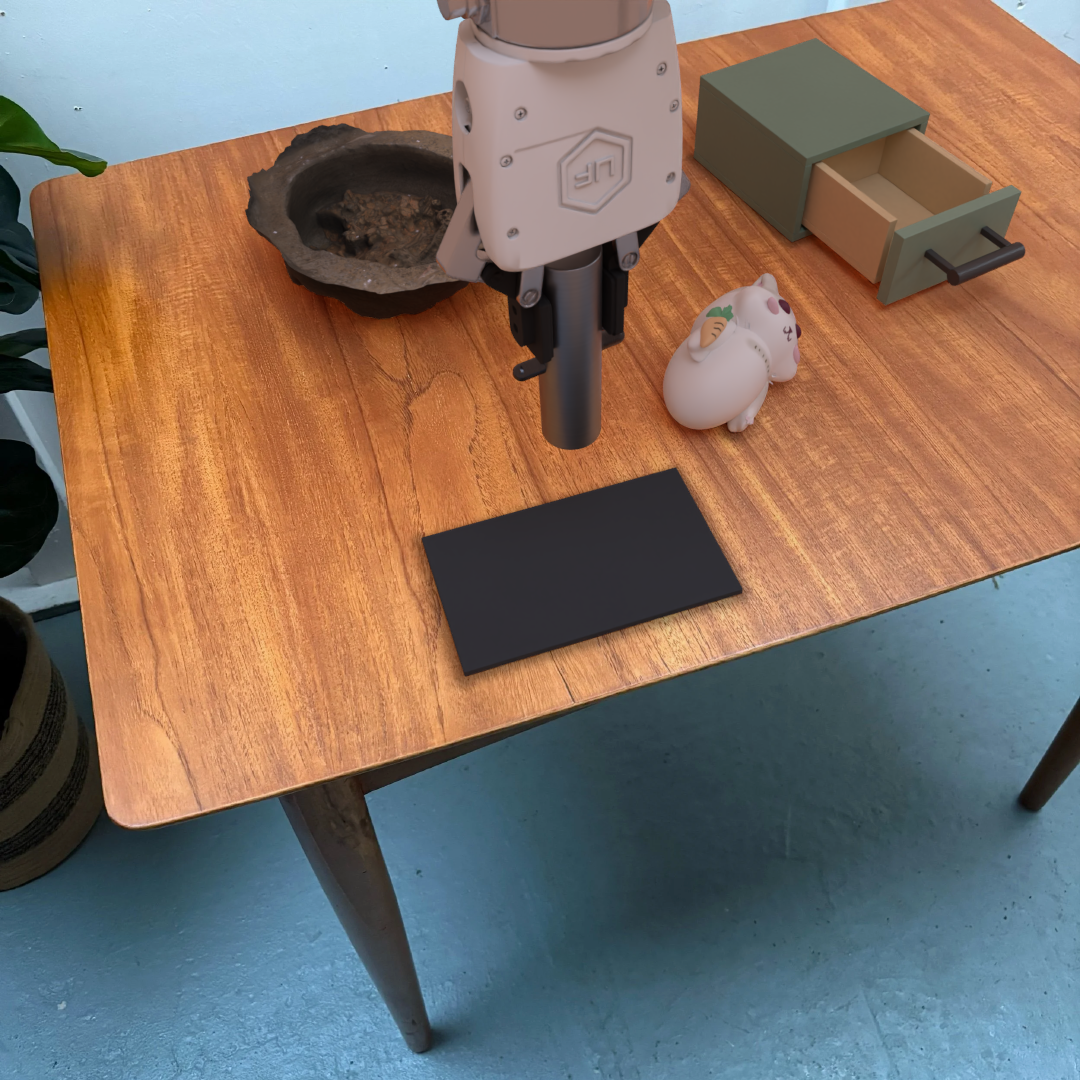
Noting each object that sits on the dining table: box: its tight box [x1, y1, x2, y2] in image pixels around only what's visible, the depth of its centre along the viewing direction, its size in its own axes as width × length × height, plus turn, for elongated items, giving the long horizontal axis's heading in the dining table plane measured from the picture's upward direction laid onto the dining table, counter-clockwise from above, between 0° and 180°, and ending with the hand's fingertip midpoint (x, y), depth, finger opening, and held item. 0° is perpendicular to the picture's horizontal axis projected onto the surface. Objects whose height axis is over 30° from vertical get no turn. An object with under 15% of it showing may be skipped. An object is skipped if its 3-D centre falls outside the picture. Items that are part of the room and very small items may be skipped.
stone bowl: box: [244, 122, 484, 320], centre depth 91 cm, size 25×25×9 cm
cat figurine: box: [662, 272, 802, 433], centre depth 79 cm, size 10×8×15 cm
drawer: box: [801, 127, 1026, 306], centre depth 88 cm, size 20×12×7 cm, turn 28°
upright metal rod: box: [512, 244, 626, 451], centre depth 56 cm, size 7×4×13 cm, turn 118°
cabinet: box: [693, 37, 931, 243], centre depth 97 cm, size 17×14×9 cm
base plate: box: [421, 467, 744, 677], centre depth 72 cm, size 20×12×1 cm, turn 108°
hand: (569, 331), depth 55 cm, fingers closed on upright metal rod, 3 cm apart
